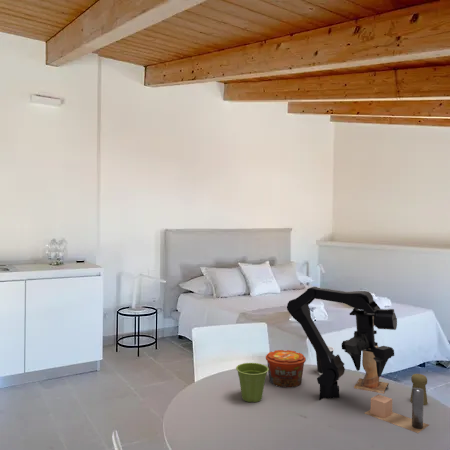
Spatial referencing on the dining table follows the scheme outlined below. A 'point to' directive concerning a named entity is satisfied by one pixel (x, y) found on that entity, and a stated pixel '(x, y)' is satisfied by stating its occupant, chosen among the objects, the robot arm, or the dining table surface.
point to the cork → (419, 385)
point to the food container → (285, 368)
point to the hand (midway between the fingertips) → (368, 373)
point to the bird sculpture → (370, 375)
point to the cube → (381, 406)
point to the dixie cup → (319, 361)
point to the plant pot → (252, 380)
